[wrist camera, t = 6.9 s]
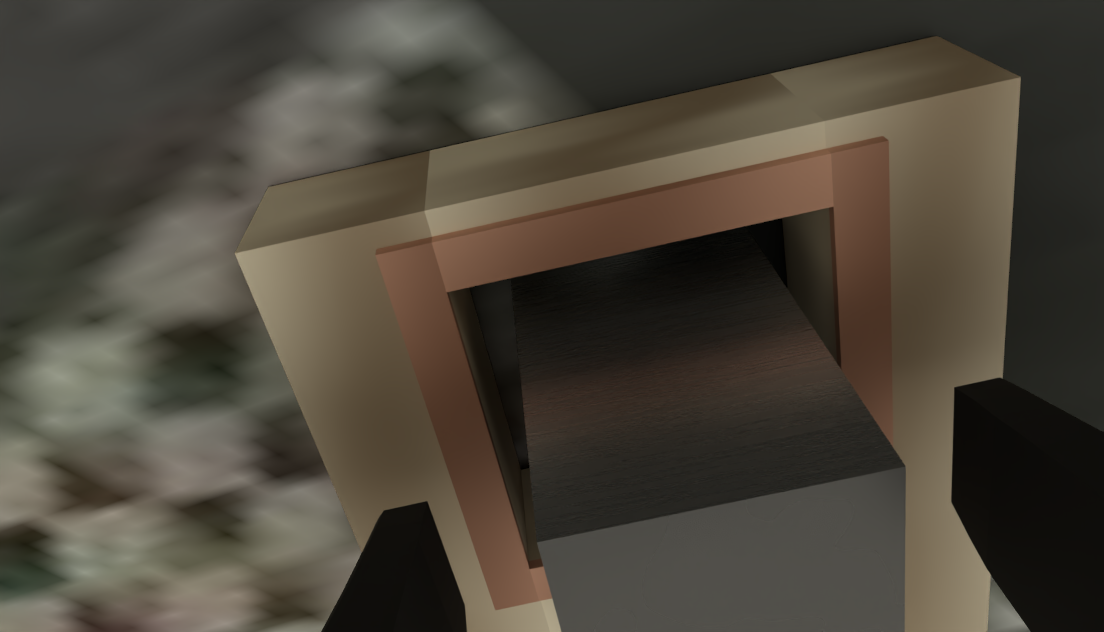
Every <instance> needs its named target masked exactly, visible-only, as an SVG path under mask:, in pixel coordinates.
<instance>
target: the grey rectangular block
mask: <svg viewBox="0 0 1104 632" xmlns="http://www.w3.org/2000/svg"><path fill="white" fill-rule="evenodd" d="M511 287H512V297H513V307H514V317H515V327H516V337H517V347H518V357H519V367H520V377H521V387H522V397H523V407H524V418H525V428H526V438H527V448H528V458H529V468H530V478H531V488H532V498H533V508H534V518H535V528H536V538H537V545H538V548H539V552H540V556H541V559H542V563H543V566H544V570H545V574H546V577H547V581H548V585H549V588H550V592H551V596H552V599H553V603H554V607H555V610H556V614H557V617H558V621H559V625H560V628H561V632H905V520H906V466H905V465H904V463H903V462H902V460H901V459H900V457H899V456H898V454H897V453H896V451H895V450H894V448H893V447H892V445H891V444H890V442H889V441H888V439H887V438H886V436H885V435H884V433H883V432H882V430H881V429H880V427H879V426H878V424H877V423H876V421H875V420H874V418H873V417H872V415H871V414H870V412H869V411H868V409H867V408H866V406H865V405H864V403H863V402H862V400H861V399H860V397H859V396H858V394H857V393H856V391H855V390H854V388H853V387H852V385H851V384H850V382H849V381H848V379H847V378H846V376H845V375H844V373H843V372H842V370H841V369H840V367H839V366H838V364H837V363H836V361H835V360H834V358H833V357H832V355H831V354H830V352H829V351H828V349H827V348H826V346H825V345H824V343H823V342H822V340H821V339H820V337H819V336H818V334H817V333H816V331H815V330H814V328H813V327H812V325H811V324H810V322H809V321H808V319H807V318H806V316H805V315H804V313H803V312H802V310H801V309H800V307H799V306H798V304H797V303H796V301H795V300H794V298H793V297H792V295H791V294H790V292H789V291H788V289H787V288H786V286H785V285H784V283H783V282H782V280H781V279H780V277H779V276H778V274H777V273H776V271H775V270H774V268H773V267H772V265H771V264H770V262H769V261H768V259H767V258H766V256H765V255H764V253H763V252H762V250H761V249H760V247H759V246H758V244H757V243H756V241H755V240H754V238H753V237H752V235H751V234H750V232H749V231H748V229H747V228H746V226H744V227H739V228H735V229H730V230H726V231H721V232H717V233H712V234H708V235H703V236H699V237H694V238H690V239H685V240H680V241H676V242H671V243H667V244H662V245H658V246H653V247H649V248H644V249H640V250H635V251H631V252H626V253H622V254H617V255H613V256H608V257H604V258H599V259H595V260H590V261H586V262H581V263H577V264H572V265H568V266H563V267H559V268H554V269H550V270H545V271H541V272H536V273H532V274H527V275H523V276H518V277H514V278H511Z"/></svg>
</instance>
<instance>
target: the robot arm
mask: <svg viewBox="0 0 1104 632" xmlns="http://www.w3.org/2000/svg"><path fill="white" fill-rule="evenodd" d="M951 503H952V505H953V507H954V509H955V510H956V512H957V514H958V516H959V518H960V520H961V522H962V524H963V526H964V528H965V530H966V532H967V534H968V536H969V538H970V540H971V541H972V543H973V545H974V547H975V549H976V550H977V552H978V554H979V556H980V558H981V559H982V561H983V563H984V565H985V567H986V568H987V570H988V571H989V573H990V574H991V576H992V577H993V579H994V580H995V582H996V583H997V584H998V586H999V587H1000V589H1001V590H1002V592H1003V593H1004V594H1005V596H1006V597H1007V599H1008V600H1009V601H1010V603H1011V604H1012V606H1013V607H1014V609H1015V610H1016V611H1017V613H1018V614H1019V616H1020V617H1021V619H1022V620H1023V621H1024V623H1025V624H1026V626H1027V627H1028V628H1029V630H1030V631H1031V632H1104V432H1102V431H1100V430H1098V429H1096V428H1094V427H1092V426H1091V425H1089V424H1087V423H1085V422H1083V421H1081V420H1079V419H1078V418H1076V417H1074V416H1072V415H1070V414H1068V413H1066V412H1065V411H1063V410H1061V409H1059V408H1057V407H1055V406H1054V405H1052V404H1050V403H1048V402H1046V401H1044V400H1043V399H1041V398H1039V397H1037V396H1035V395H1033V394H1031V393H1029V392H1028V391H1026V390H1024V389H1022V388H1020V387H1018V386H1016V385H1014V384H1012V383H1010V382H1008V381H1006V380H1004V379H1002V378H1000V377H999V378H995V379H990V380H985V381H981V382H976V383H971V384H967V385H962V386H958V387H954V417H953V453H952V488H951ZM321 632H467V624H466V612H465V604H464V601H463V599H462V596H461V593H460V590H459V587H458V585H457V582H456V579H455V576H454V574H453V571H452V568H451V565H450V562H449V560H448V557H447V554H446V551H445V549H444V546H443V543H442V540H441V538H440V535H439V532H438V529H437V526H436V524H435V521H434V518H433V515H432V513H431V510H430V507H429V504H428V501H425V502H420V503H416V504H411V505H406V506H402V507H397V508H393V509H388V510H384V511H383V512H382V514H381V515H380V516H379V518H378V520H377V522H376V524H375V526H374V528H373V530H372V532H371V535H370V537H369V539H368V541H367V543H366V545H365V547H364V549H363V551H362V554H361V556H360V558H359V560H358V562H357V564H356V566H355V568H354V570H353V572H352V574H351V576H350V578H349V580H348V582H347V584H346V586H345V588H344V590H343V592H342V594H341V596H340V598H339V600H338V601H337V603H336V605H335V607H334V609H333V611H332V613H331V615H330V616H329V618H328V620H327V622H326V624H325V626H324V628H323V629H322V631H321Z"/></svg>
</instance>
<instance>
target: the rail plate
mask: <svg viewBox="0 0 1104 632" xmlns="http://www.w3.org/2000/svg"><path fill="white" fill-rule="evenodd" d="M1020 82H1021V77H1020V76H1018V75H1015V74H1013V73H1011V72H1009V71H1007V70H1005V69H1003V68H1001V67H999V66H997V65H995V64H993V63H991V62H989V61H987V60H985V59H983V58H981V57H979V56H977V55H975V54H973V53H971V52H969V51H967V50H964V49H962V48H960V47H958V46H956V45H954V44H952V43H950V42H948V41H946V40H944V39H942V38H940V37H938V36H934V37H930V38H926V39H921V40H917V41H912V42H908V43H903V44H899V45H895V46H890V47H886V48H881V49H877V50H872V51H868V52H864V53H859V54H855V55H850V56H846V57H841V58H837V59H833V60H828V61H824V62H819V63H815V64H811V65H806V66H802V67H797V68H793V69H788V70H784V71H780V72H775V73H771V74H766V75H762V76H757V77H753V78H749V79H744V80H740V81H735V82H731V83H726V84H722V85H718V86H713V87H709V88H704V89H700V90H695V91H691V92H687V93H682V94H678V95H673V96H669V97H665V98H660V99H656V100H651V101H647V102H642V103H638V104H634V105H629V106H625V107H620V108H616V109H611V110H607V111H603V112H598V113H594V114H589V115H585V116H580V117H576V118H572V119H567V120H563V121H558V122H554V123H549V124H545V125H541V126H536V127H532V128H527V129H523V130H519V131H514V132H510V133H505V134H501V135H496V136H492V137H488V138H483V139H479V140H474V141H470V142H465V143H461V144H457V145H452V146H448V147H443V148H439V149H434V150H430V151H426V152H421V153H417V154H412V155H408V156H404V157H399V158H395V159H390V160H386V161H381V162H377V163H373V164H368V165H364V166H359V167H355V168H350V169H346V170H342V171H337V172H333V173H328V174H324V175H319V176H315V177H311V178H306V179H302V180H297V181H293V182H288V183H284V184H280V185H275V186H271V187H268V189H267V191H266V193H265V195H264V197H263V199H262V201H261V202H260V204H259V206H258V208H257V210H256V212H255V214H254V216H253V218H252V220H251V222H250V224H249V226H248V228H247V230H246V232H245V234H244V236H243V238H242V240H241V242H240V244H239V246H238V248H237V250H236V252H235V255H236V258H237V260H238V262H239V265H240V267H241V269H242V272H243V274H244V276H245V279H246V281H247V284H248V286H249V288H250V291H251V293H252V295H253V298H254V300H255V302H256V305H257V307H258V309H259V312H260V314H261V316H262V319H263V321H264V323H265V326H266V328H267V331H268V333H269V335H270V338H271V340H272V342H273V345H274V347H275V349H276V352H277V354H278V356H279V359H280V361H281V363H282V366H283V368H284V370H285V373H286V375H287V378H288V380H289V382H290V385H291V387H292V389H293V392H294V394H295V396H296V399H297V401H298V403H299V406H300V408H301V410H302V413H303V415H304V417H305V420H306V422H307V425H308V427H309V429H310V432H311V434H312V436H313V439H314V441H315V443H316V446H317V448H318V450H319V453H320V455H321V457H322V460H323V462H324V465H325V467H326V469H327V472H328V474H329V476H330V479H331V481H332V483H333V486H334V488H335V490H336V493H337V495H338V497H339V500H340V502H341V504H342V507H343V509H344V512H345V514H346V516H347V519H348V521H349V523H350V526H351V528H352V530H353V533H354V535H355V537H356V540H357V542H358V544H359V547H360V549H361V551H363V549H364V547H365V545H366V543H367V541H368V539H369V537H370V535H371V532H372V530H373V528H374V526H375V524H376V522H377V520H378V518H379V516H380V515H381V514H382V512H383V511H384V510H388V509H393V508H397V507H402V506H406V505H411V504H416V503H420V502H425V501H428V504H429V507H430V510H431V513H432V515H433V518H434V521H435V524H436V526H437V529H438V532H439V535H440V538H441V540H442V543H443V546H444V549H445V551H446V554H447V557H448V560H449V562H450V565H451V568H452V571H453V574H454V576H455V579H456V582H457V585H458V587H459V590H460V593H461V596H462V599H463V601H464V604H465V612H466V624H467V632H561V628H560V625H559V621H558V617H557V614H556V610H555V607H554V603H553V599H552V596H551V592H550V588H549V585H548V581H547V577H546V574H545V570H544V566H543V563H542V559H541V556H540V552H539V548H538V545H537V538H536V528H535V518H534V508H533V498H532V488H531V478H530V468H527V469H523V470H521V468H520V465H519V461H518V458H517V454H516V451H515V447H514V444H513V440H512V437H511V433H510V430H509V426H508V423H507V419H506V416H505V412H504V409H503V405H502V402H501V398H500V395H499V391H498V387H497V384H496V380H495V377H494V373H493V370H492V366H491V363H490V359H489V356H488V352H487V349H486V345H485V342H484V338H483V335H482V331H481V328H480V324H479V321H478V317H477V314H476V310H475V307H474V303H473V300H472V296H471V293H470V289H469V287H473V286H478V285H482V284H487V283H491V282H496V281H500V280H505V279H509V278H514V277H518V276H523V275H527V274H532V273H536V272H541V271H545V270H550V269H554V268H559V267H563V266H568V265H572V264H577V263H581V262H586V261H590V260H595V259H599V258H604V257H608V256H613V255H617V254H622V253H626V252H631V251H635V250H640V249H644V248H649V247H653V246H658V245H662V244H667V243H671V242H676V241H680V240H685V239H690V238H694V237H699V236H703V235H708V234H712V233H717V232H721V231H726V230H730V229H735V228H739V227H744V226H748V225H753V224H757V223H762V222H766V221H771V220H775V219H780V218H782V224H783V237H784V249H785V262H786V274H787V286H788V291H789V292H790V294H791V295H792V297H793V298H794V300H795V301H796V303H797V304H798V306H799V307H800V309H801V310H802V312H803V313H804V315H805V316H806V318H807V319H808V321H809V322H810V324H811V325H812V327H813V328H814V330H815V331H816V333H817V334H818V336H819V337H820V339H821V340H822V342H823V343H824V345H825V346H826V348H827V349H828V351H829V352H830V354H831V355H832V357H833V358H834V360H835V361H836V363H837V364H838V366H839V367H840V369H841V370H842V372H843V373H844V375H845V376H846V378H847V379H848V381H849V382H850V384H851V385H852V387H853V388H854V390H855V391H856V393H857V394H858V396H859V397H860V399H861V400H862V402H863V403H864V405H865V406H866V408H867V409H868V411H869V412H870V414H871V415H872V417H873V418H874V420H875V421H876V423H877V424H878V426H879V427H880V429H881V430H882V432H883V433H884V435H885V436H886V438H887V439H888V441H889V442H890V444H891V445H892V447H893V448H894V450H895V451H896V453H897V454H898V456H899V457H900V459H901V460H902V462H903V463H904V465H905V466H906V520H905V632H987V626H988V610H989V593H990V577H991V574H990V573H989V571H988V570H987V568H986V567H985V565H984V563H983V561H982V559H981V558H980V556H979V554H978V552H977V550H976V549H975V547H974V545H973V543H972V541H971V540H970V538H969V536H968V534H967V532H966V530H965V528H964V526H963V524H962V522H961V520H960V518H959V516H958V514H957V512H956V510H955V509H954V507H953V505H952V503H951V488H952V453H953V417H954V387H958V386H962V385H967V384H971V383H976V382H981V381H985V380H990V379H995V378H999V377H1000V378H1002V379H1003V363H1004V346H1005V330H1006V313H1007V297H1008V280H1009V264H1010V247H1011V231H1012V214H1013V198H1014V181H1015V165H1016V148H1017V132H1018V115H1019V99H1020Z"/></svg>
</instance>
